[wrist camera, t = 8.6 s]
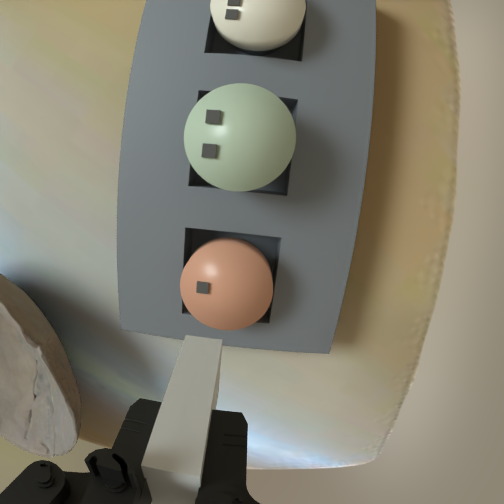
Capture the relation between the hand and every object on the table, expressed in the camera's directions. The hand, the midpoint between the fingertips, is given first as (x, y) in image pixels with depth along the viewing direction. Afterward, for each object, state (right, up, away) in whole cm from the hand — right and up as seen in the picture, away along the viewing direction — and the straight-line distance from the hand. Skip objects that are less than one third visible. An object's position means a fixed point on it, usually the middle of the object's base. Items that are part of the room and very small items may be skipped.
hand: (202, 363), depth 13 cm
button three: (+2, +23, +8) cm, 24 cm away
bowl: (-27, -6, +18) cm, 33 cm away
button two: (+1, +13, +9) cm, 16 cm away
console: (+1, +13, +12) cm, 18 cm away
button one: (0, +4, +13) cm, 14 cm away
